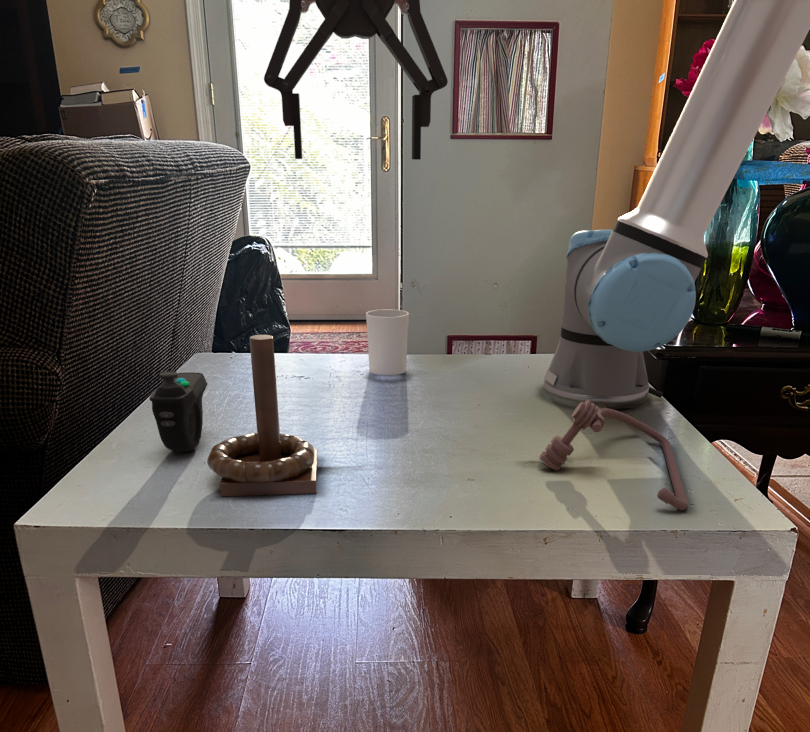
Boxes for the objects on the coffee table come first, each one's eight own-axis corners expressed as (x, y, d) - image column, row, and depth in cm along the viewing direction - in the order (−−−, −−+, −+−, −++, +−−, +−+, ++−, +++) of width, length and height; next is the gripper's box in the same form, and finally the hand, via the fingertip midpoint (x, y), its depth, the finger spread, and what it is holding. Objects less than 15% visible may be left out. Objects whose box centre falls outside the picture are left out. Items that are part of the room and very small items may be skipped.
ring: (316, 447, 92) (315, 429, 91) (313, 484, 81) (312, 465, 80) (217, 449, 91) (215, 431, 90) (202, 487, 81) (199, 467, 80)
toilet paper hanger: (698, 501, 78) (584, 425, 77) (644, 561, 82) (534, 489, 81) (676, 433, 97) (583, 371, 96) (632, 484, 101) (543, 425, 100)
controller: (154, 464, 90) (141, 379, 86) (182, 430, 102) (172, 353, 97) (191, 465, 90) (180, 379, 86) (215, 430, 101) (207, 353, 97)
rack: (317, 460, 92) (310, 326, 85) (316, 493, 83) (309, 347, 76) (231, 462, 91) (217, 327, 84) (221, 496, 82) (205, 348, 75)
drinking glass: (408, 382, 123) (408, 317, 118) (365, 382, 123) (364, 317, 118) (408, 371, 129) (409, 309, 124) (368, 371, 129) (367, 309, 124)
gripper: (466, -57, 86) (459, 159, 95) (235, -63, 84) (251, 158, 93) (478, -74, 79) (469, 160, 89) (227, -81, 77) (246, 159, 86)
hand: (357, 159), depth 91 cm, fingers open, 13 cm apart
